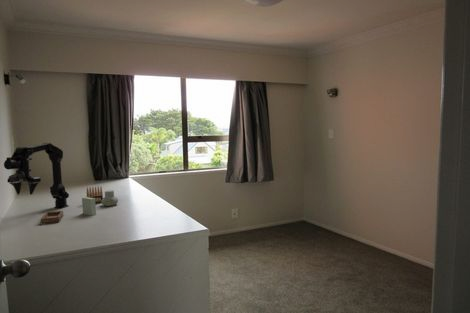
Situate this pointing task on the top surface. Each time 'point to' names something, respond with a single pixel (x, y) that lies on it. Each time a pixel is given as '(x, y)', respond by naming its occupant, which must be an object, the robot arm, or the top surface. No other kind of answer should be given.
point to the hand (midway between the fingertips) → (24, 194)
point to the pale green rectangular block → (89, 206)
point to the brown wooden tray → (52, 217)
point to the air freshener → (109, 198)
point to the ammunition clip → (98, 194)
